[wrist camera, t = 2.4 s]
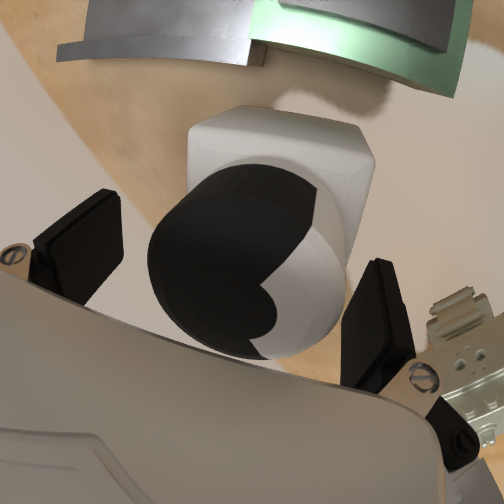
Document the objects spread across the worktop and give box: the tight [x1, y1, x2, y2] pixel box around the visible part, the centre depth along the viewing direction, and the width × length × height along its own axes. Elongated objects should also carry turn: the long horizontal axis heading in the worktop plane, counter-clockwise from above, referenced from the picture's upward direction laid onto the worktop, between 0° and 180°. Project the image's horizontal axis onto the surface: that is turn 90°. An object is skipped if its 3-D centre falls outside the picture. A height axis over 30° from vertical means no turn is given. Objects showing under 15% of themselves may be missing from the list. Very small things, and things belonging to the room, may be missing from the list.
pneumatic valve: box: [416, 286, 504, 448], centre depth 15 cm, size 6×12×12 cm, turn 131°
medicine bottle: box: [147, 106, 375, 360], centre depth 13 cm, size 7×7×12 cm
